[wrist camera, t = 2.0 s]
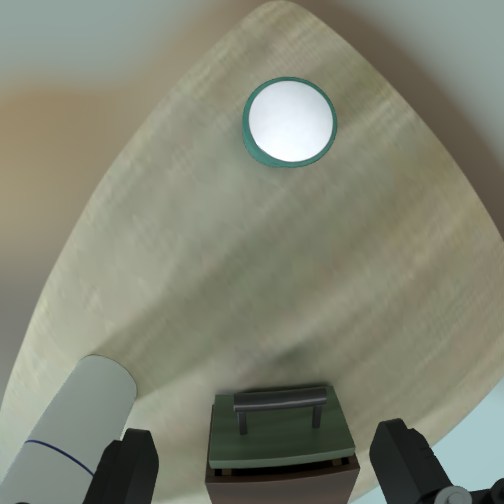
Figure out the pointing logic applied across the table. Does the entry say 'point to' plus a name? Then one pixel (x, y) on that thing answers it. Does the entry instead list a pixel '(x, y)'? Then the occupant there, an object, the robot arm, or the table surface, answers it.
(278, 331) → the table surface
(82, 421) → the cylindrical container
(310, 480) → the cabinet
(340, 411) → the drawer
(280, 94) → the can
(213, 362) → the table surface
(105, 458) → the robot arm
